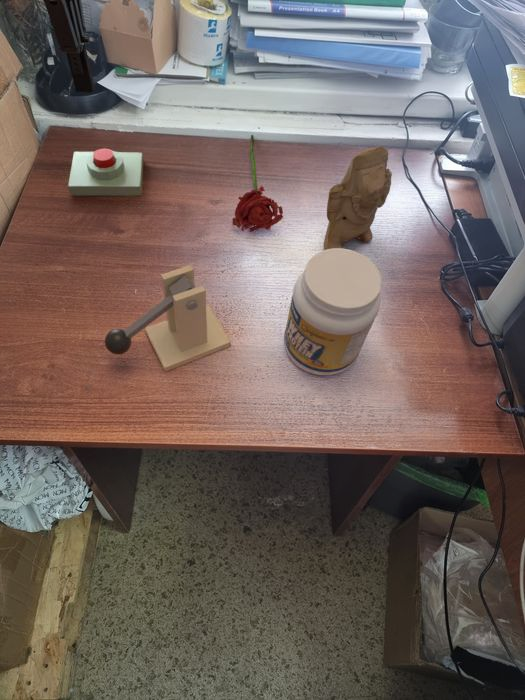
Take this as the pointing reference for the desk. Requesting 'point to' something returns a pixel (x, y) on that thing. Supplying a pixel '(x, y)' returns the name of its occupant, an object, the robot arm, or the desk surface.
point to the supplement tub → (332, 311)
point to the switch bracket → (186, 325)
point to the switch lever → (144, 319)
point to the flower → (256, 207)
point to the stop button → (103, 158)
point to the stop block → (106, 175)
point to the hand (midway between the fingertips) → (85, 89)
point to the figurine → (358, 198)
